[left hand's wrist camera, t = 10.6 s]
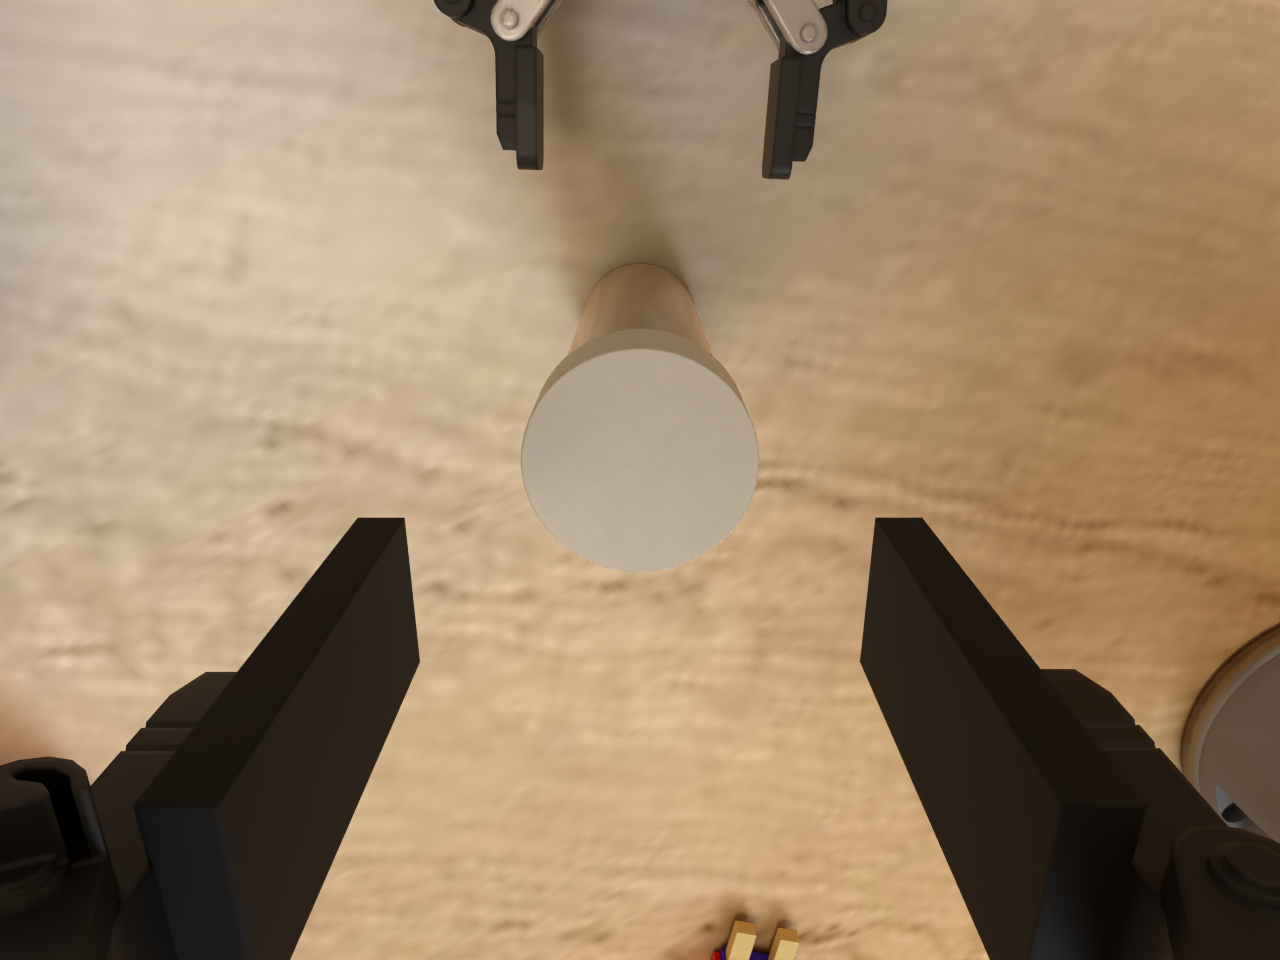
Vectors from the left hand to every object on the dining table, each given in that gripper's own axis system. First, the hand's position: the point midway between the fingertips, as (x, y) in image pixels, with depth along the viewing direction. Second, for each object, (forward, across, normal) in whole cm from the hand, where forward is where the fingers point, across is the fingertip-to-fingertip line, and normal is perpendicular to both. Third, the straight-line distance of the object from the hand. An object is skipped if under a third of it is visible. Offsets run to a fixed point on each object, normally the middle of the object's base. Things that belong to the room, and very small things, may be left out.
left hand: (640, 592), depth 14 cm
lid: (+7, 0, 0) cm, 7 cm away
